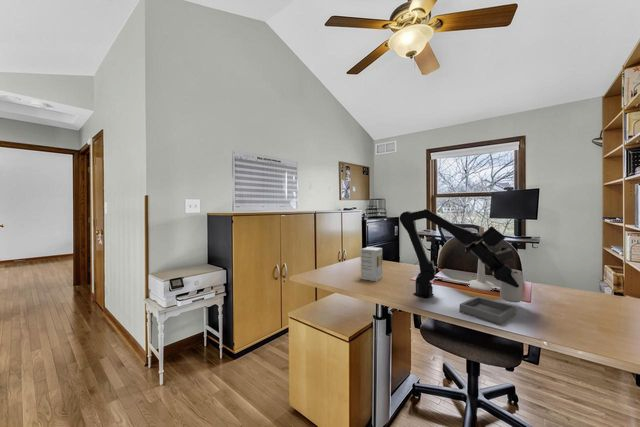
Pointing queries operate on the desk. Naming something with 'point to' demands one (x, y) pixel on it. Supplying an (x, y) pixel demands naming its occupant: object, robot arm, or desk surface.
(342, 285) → the desk surface
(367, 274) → the supplement box
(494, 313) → the well tray
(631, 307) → the desk surface
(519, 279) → the can
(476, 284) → the candlestick
